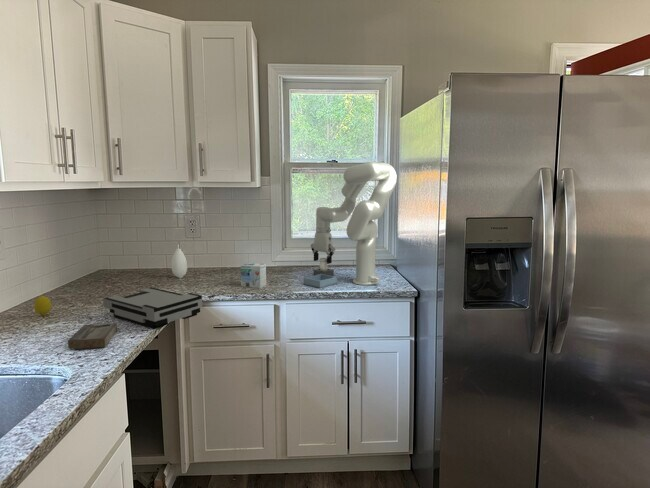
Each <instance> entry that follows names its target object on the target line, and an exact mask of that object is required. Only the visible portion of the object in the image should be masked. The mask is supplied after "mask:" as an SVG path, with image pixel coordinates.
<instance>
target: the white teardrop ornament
mask: <svg viewBox="0 0 650 488" xmlns="http://www.w3.org/2000/svg"><path fill="white" fill-rule="evenodd" d="M179 247H180V246H179V244H177V248H176V249H175V252H173V255H172V258H171V265H170V267H171V270H172V274H173V275H174V276H175V277H176V278H178V279H181V278H183V277H184V276H186V274H187V271H188V261H187V258H186V255H185V254H184V252H183V251H182V249H181V248H179Z"/></svg>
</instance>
